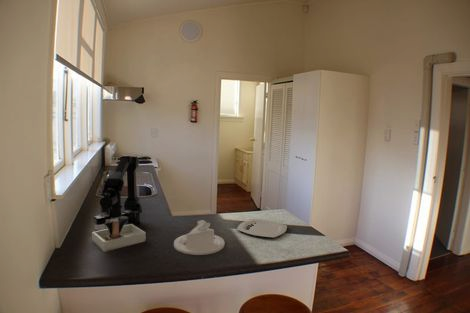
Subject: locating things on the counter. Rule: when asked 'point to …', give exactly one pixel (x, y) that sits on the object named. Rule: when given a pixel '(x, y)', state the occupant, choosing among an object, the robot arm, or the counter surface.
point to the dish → (199, 241)
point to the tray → (131, 237)
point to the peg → (115, 229)
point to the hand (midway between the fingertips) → (115, 234)
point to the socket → (108, 237)
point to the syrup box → (103, 225)
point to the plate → (263, 228)
